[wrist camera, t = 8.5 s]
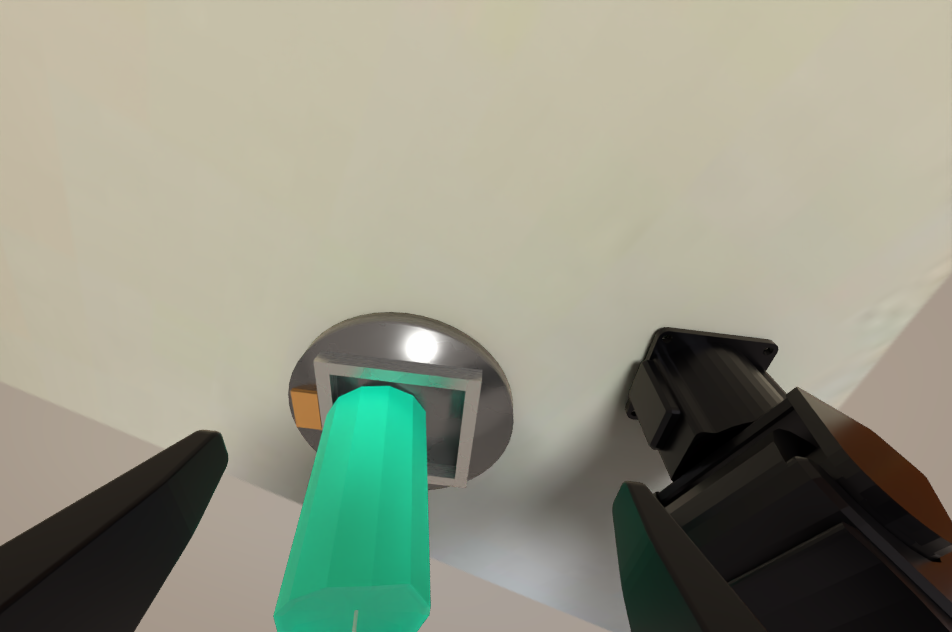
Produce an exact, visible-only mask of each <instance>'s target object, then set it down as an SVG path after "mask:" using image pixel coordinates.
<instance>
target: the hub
mask: <svg viewBox="0 0 952 632" xmlns="http://www.w3.org/2000/svg"><path fill="white" fill-rule="evenodd" d="M362 386H391V387H393V388H396V389H398V390H401V391H403V392H406V393H408V394H411V395H413V396H414V397H415V399H416V400H417V401H418V402H419V404H420V405H421V406H422V407H423V409H424V410H425V411H426V440H427V480H428V490H432V489H440V488H445V487H450V486H453V487H461V488H466V484H467V481H468V480H470V479H473V478H474V477H476V476H478V475H480V474H482V473H483V472H484V471H486V470H487V469H488V468H490V467H491V466H492V465H493V464H494V463H495V462H496V461H497V460H498V459H499V458H500V456H501V455H502V454H503V452H504V451H505V449H506V447H507V445H508V443H509V440H510V437H511V434H512V429H513V400H512V393H511V389H510V385H509V383H508V380H507V378H506V376H505V374H504V372H503V370H502V369H501V367H500V365H499V364H498V363H497V361H496V360H495V359H494V358H493V356H492V355H491V354H490V353H489V352H488V351H487V350H486V349H485V348H484V347H483V346H482V345H480V344H479V343H478V342H477V341H475V340H474V339H473V338H471V337H470V336H468V335H467V334H465V333H463V332H462V331H460V330H458V329H456V328H454V327H452V326H450V325H448V324H445V323H443V322H440V321H438V320H434V319H431V318H428V317H424V316H419V315H414V314H408V313H395V312H385V313H372V314H366V315H360V316H357V317H354V318H350V319H347V320H344V321H342V322H340V323H338V324H336V325H334V326H332V327H331V328H329V329H328V330H326V331H325V332H323V333H322V334H321V335H320V336H319V337H317V338H316V339H315V340H314V341H313V342H312V344H311V345H310V346H309V348H308V349H307V350H306V352H305V353H304V354H303V356H302V357H301V359H300V360H299V361H298V363H297V364H296V366H295V368H294V370H293V373H292V376H291V379H290V383H289V393H288V396H289V406H290V409H291V413H292V417H293V419H294V421H295V423H296V426H297V427H298V429H299V431H300V432H301V434H302V436H303V437H304V438H305V439H306V441H307V442H308V443H309V444H310V446H311V447H312V448H313V449H314V450H315V451H316V452H317V450H318V446H319V442H320V438H321V435H322V431H323V427H324V423H325V420H326V416H327V413H328V412H329V411H330V409H331V408H332V406H333V405H334V403H335V402H336V400H337V399H338V397H340V396H342V395H344V394H346V393H348V392H351V391H353V390H355V389H357V388H359V387H362Z"/></svg>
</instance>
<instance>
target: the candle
mask: <svg viewBox="0 0 952 632" xmlns="http://www.w3.org/2000/svg"><path fill="white" fill-rule="evenodd" d="M429 562H430V561H429V520H428V480H427V440H426V411H425V410H424V409H423V407H422V406H421V405H420V404H419V402H418V401H417V400H416V399H415V397H414V396H413V395H411V394H408V393H406V392H403V391H401V390H398V389H396V388H393V387H391V386H362V387H359V388H357V389H355V390H353V391H351V392H348V393H346V394H344V395H342V396H340V397H338V399H337V400H336V402H335V403H334V405H333V406H332V408H331V409H330V411H329V412H328V413H327V416H326V420H325V423H324V427H323V431H322V435H321V438H320V442H319V446H318V450H317V454H316V457H315V461H314V465H313V469H312V472H311V476H310V480H309V484H308V487H307V491H306V495H305V499H304V503H303V506H302V510H301V514H300V518H299V521H298V525H297V529H296V533H295V536H294V540H293V544H292V548H291V551H290V555H289V559H288V563H287V567H286V570H285V574H284V578H283V582H282V585H281V589H280V593H279V597H278V600H277V604H276V608H275V612H274V616H273V617H274V620H275V624H276V628H277V632H417V631H418V630H419V628H420V627H421V626H422V624H423V623H424V622H425V620H426V619H427V617H428V616H429V614H430V607H431V601H430V563H429Z"/></svg>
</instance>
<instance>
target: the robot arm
mask: <svg viewBox="0 0 952 632" xmlns="http://www.w3.org/2000/svg"><path fill="white" fill-rule="evenodd" d="M666 335H669V337H668V338H666V339H663V337H664V336H666ZM766 348H768V349H767V350H765V349H766ZM777 352H778V346H777V345H776V344H775V343H774V342H773V341H772V340H768V339H760V338H752V337H744V336H736V335H728V334H719V333H711V332H703V331H695V330H687V329H678V328H670V327H664V328H661V329H659V330H658V331H657V333H656V334H655V337H654V339H653V342H652V344H651V346H650V349H649V351H648V354H647V356H646V359H645V360H644V361H642V362H641V364H640V366H639V369H638V371H637V374H636V376H635V379H634V381H633V384H632V386H631V389H630V391H629V394H628V395H629V400H628V402H627V405H626V407H625V411H626V414H627V416H628V417H629V418H631V419H637V420H639V422H640V425H641V427H642V429H643V432H644V434H645V437H646V439H647V442H648V444H649V446H650V447H651V448H652V449H654V450H659V452H660V455H661V457H662V459H663V462H664V464H665V466H666V469H667V471H668V473H669V476H670V478H671V480H672V481H673V483H671V484H670V485H669V486H667V487H666V488H665V489H663V490H662V491H660V492H655V493H654V494H652V492H651V491H650V490H649V489H648V488H647V487H646V486H645V485H644V484H643V483H640V482H632V481H625V482H624V483H623V484H622V485H621V488H620V490H619V492H618V494H617V496H616V498H615V500H614V503H613V509H612V513H613V522H614V530H615V538H616V547H617V555H618V563H619V572H620V579H621V586H622V591H623V597H624V601H625V606H626V610H627V615H628V619H629V624H630V628H631V632H952V521H951V519H950V518H949V516H948V514H947V512H946V510H945V509H944V507H943V505H942V504H941V502H940V500H939V498H938V496H937V495H936V493H935V491H934V490H933V488H932V486H931V484H930V483H929V481H928V479H927V478H926V477H925V476H924V474H922V473H921V472H920V471H919V470H918V469H917V468H916V467H914V466H913V465H912V464H911V463H910V462H909V461H907V460H906V459H905V458H904V457H903V456H902V455H900V454H899V453H898V452H897V451H896V450H894V449H893V448H892V447H891V446H890V445H889V444H888V443H886V442H885V441H884V440H883V439H882V438H881V437H879V436H878V435H877V434H876V433H874V432H873V431H872V430H870V429H869V428H867V427H865V426H864V425H862V424H860V423H859V422H857V421H855V420H854V419H852V418H850V417H848V416H847V415H845V414H843V413H842V412H840V411H838V410H837V409H835V408H833V407H831V406H830V405H828V404H826V403H825V402H823V401H821V400H819V399H818V398H816V397H814V396H813V395H811V394H809V393H807V392H806V391H804V390H802V389H801V388H799V387H796V388H794V389H793V390H792V391H790V392H789V393H788V394H786V393H785V391H784V390H783V389H782V388H781V387H780V386H779V385H778V384H777V383H776V382H775V381H774V379H773V378H772V377H771V376H770V375H769V374H768V373H767V372H766V370H767V368H768V367H769V365H770V363H771V362H772V360H773V359H774V357H775V355H776V354H777ZM634 410H635V411H634ZM227 464H228V453H227V450H226V447H225V444H224V440H223V437H222V435H221V433H219V432H217V431H210V430H199V431H196V432H194V433H192V434H191V435H189V436H187V437H186V438H184V439H182V440H180V441H179V442H177V443H175V444H174V445H172V446H170V447H169V448H167V449H165V450H163V451H162V452H160V453H158V454H157V455H155V456H153V457H152V458H150V459H148V460H146V461H145V462H143V463H141V464H140V465H138V466H136V467H135V468H133V469H131V470H130V471H128V472H126V473H124V474H123V475H121V476H119V477H117V478H116V479H114V480H112V481H111V482H109V483H107V484H106V485H104V486H102V487H100V488H99V489H97V490H95V491H94V492H92V493H90V494H88V495H87V496H85V497H84V498H81V499H80V500H78V501H76V502H75V503H73V504H71V505H70V506H68V507H66V508H64V509H63V510H61V511H59V512H58V513H56V514H54V515H53V516H51V517H49V518H47V519H46V520H44V521H42V522H41V523H39V524H37V525H35V526H34V527H32V528H31V529H29V530H27V531H25V532H23V533H22V534H20V535H18V536H17V537H15V538H13V539H12V540H10V541H8V542H6V543H5V544H3V545H2V546H0V632H134V631H135V629H136V627H137V626H138V624H139V623H140V621H141V619H142V618H143V616H144V615H145V613H146V611H147V610H148V608H149V606H150V605H151V603H152V602H153V600H154V598H155V597H156V595H157V593H158V592H159V590H160V588H161V587H162V585H163V584H164V582H165V580H166V578H167V577H168V575H169V574H170V572H171V570H172V568H173V567H174V565H175V564H176V562H177V561H178V559H179V557H180V556H181V554H182V552H183V551H184V549H185V548H186V546H187V544H188V542H189V541H190V539H191V537H192V535H193V534H194V532H195V530H196V528H197V526H198V524H199V522H200V520H201V518H202V516H203V514H204V512H205V510H206V508H207V506H208V503H209V502H210V499H211V497H212V495H213V493H214V491H215V489H216V487H217V485H218V483H219V481H220V479H221V477H222V475H223V473H224V471H225V469H226V467H227Z"/></svg>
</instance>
